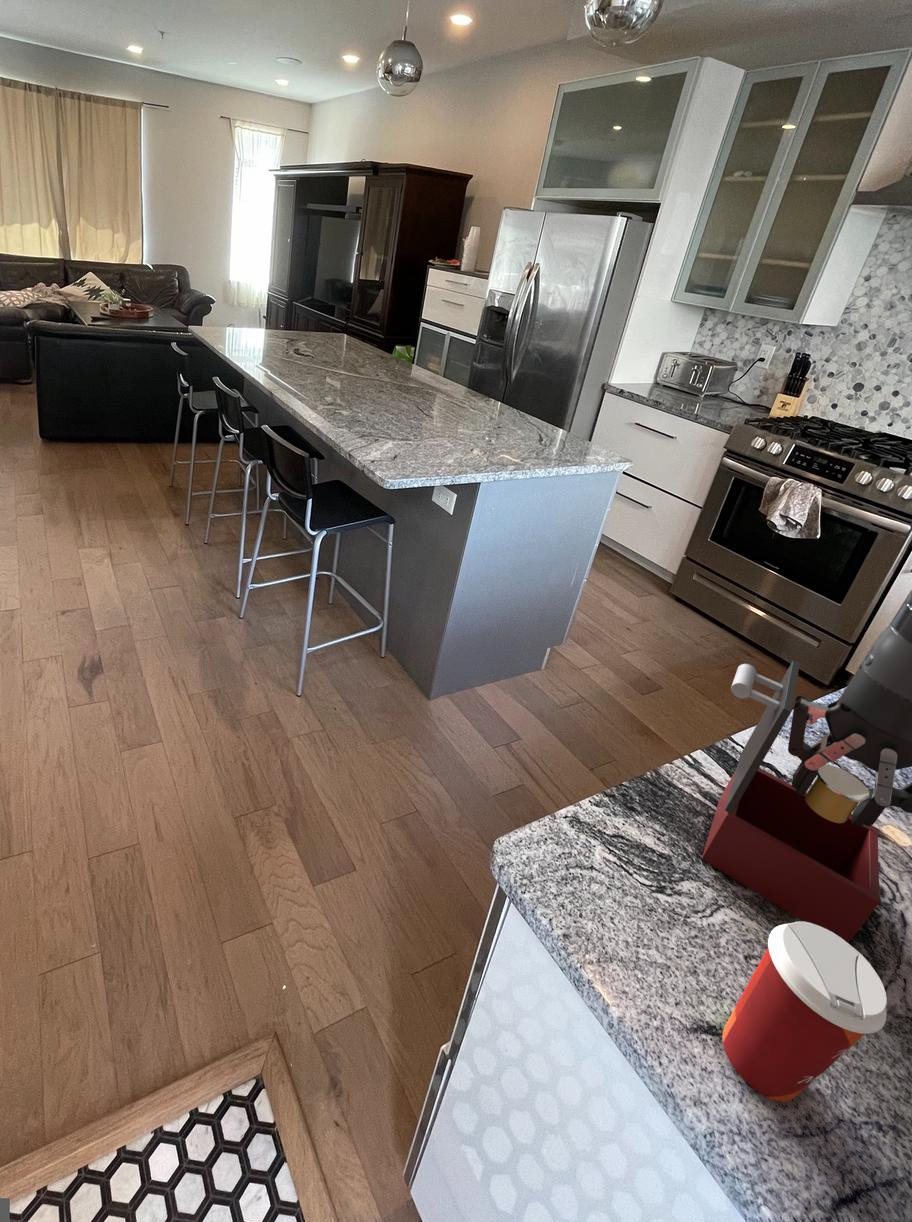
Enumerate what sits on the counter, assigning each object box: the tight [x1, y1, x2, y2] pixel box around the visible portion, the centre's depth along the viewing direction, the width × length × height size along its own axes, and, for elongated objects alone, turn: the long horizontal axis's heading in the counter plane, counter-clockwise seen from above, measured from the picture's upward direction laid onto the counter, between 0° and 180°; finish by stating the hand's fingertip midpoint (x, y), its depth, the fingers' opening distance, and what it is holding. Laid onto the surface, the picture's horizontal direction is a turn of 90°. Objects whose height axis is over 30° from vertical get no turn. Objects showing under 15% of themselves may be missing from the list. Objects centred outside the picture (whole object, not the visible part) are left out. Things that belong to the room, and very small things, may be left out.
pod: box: [805, 764, 869, 823], centre depth 66 cm, size 5×5×4 cm
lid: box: [725, 660, 801, 814], centre depth 70 cm, size 14×12×5 cm
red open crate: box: [701, 767, 881, 944], centre depth 70 cm, size 14×12×8 cm
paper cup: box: [721, 921, 888, 1103], centre depth 51 cm, size 8×8×14 cm
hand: (826, 805), depth 67 cm, fingers closed on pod, 4 cm apart
